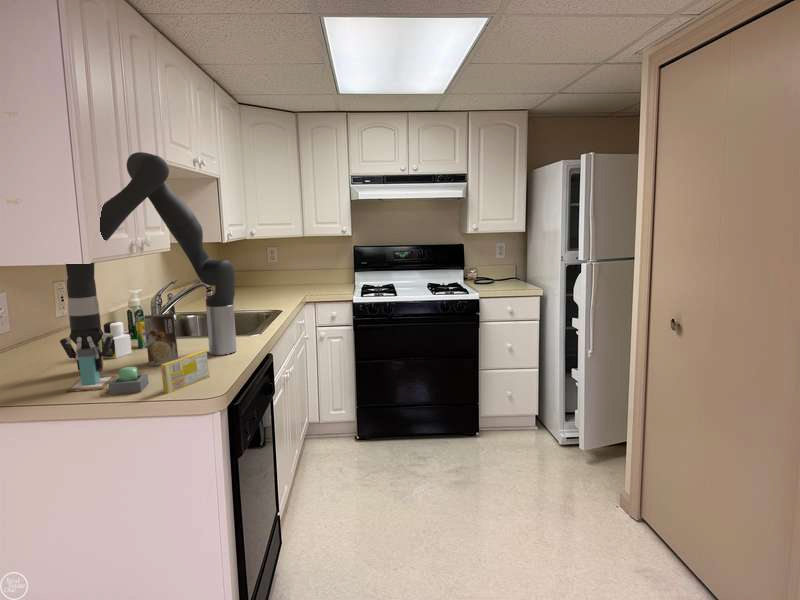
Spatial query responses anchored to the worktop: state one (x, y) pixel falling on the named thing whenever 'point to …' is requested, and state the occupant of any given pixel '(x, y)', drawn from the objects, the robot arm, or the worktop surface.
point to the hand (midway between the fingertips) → (90, 370)
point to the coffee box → (160, 338)
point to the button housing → (128, 385)
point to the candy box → (184, 371)
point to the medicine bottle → (117, 340)
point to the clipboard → (100, 385)
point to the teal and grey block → (87, 366)
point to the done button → (128, 374)
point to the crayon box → (141, 333)
